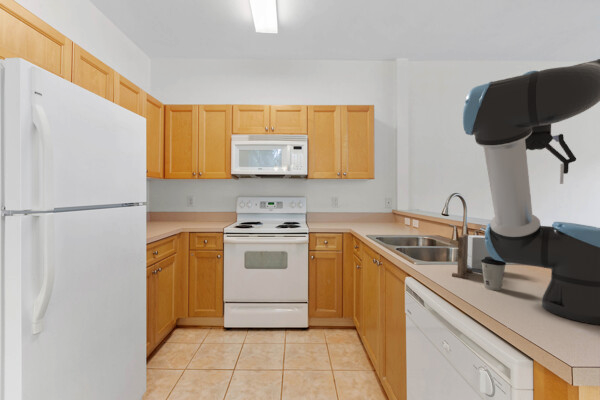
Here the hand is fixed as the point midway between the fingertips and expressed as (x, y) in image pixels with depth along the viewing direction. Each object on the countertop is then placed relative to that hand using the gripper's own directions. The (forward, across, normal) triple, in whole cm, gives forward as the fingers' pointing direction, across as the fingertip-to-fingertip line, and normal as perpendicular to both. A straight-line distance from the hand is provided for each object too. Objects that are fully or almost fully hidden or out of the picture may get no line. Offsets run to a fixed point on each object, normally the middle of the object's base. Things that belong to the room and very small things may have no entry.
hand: (535, 184), depth 101 cm
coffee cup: (+35, +10, +16) cm, 40 cm away
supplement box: (+34, +17, -8) cm, 39 cm away
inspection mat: (+35, +17, -8) cm, 39 cm away
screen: (+35, +21, +4) cm, 41 cm away
